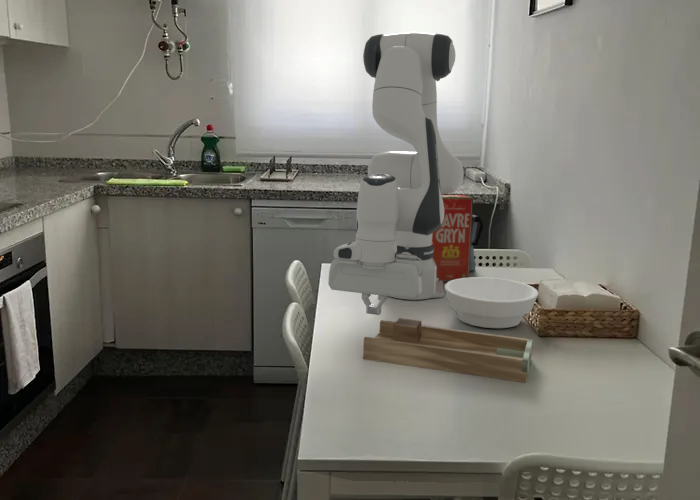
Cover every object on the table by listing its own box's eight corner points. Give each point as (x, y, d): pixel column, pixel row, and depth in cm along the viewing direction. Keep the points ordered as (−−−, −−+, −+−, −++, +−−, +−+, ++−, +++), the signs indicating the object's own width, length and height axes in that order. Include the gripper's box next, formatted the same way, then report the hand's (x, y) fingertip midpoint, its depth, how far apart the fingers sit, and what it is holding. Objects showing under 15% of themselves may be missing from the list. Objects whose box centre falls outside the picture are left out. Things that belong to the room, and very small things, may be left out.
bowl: (423, 317, 175) (425, 285, 173) (482, 302, 189) (484, 272, 188) (496, 343, 158) (498, 307, 157) (554, 324, 173) (557, 291, 171)
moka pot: (454, 263, 234) (457, 203, 229) (491, 272, 222) (495, 209, 218) (434, 266, 228) (437, 205, 223) (471, 276, 216) (475, 212, 212)
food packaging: (428, 282, 205) (431, 196, 202) (417, 276, 214) (420, 194, 211) (470, 281, 209) (474, 196, 205) (458, 275, 218) (462, 194, 214)
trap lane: (380, 339, 158) (381, 320, 157) (531, 359, 148) (532, 339, 147) (363, 358, 146) (363, 338, 145) (525, 382, 136) (527, 360, 135)
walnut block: (398, 335, 155) (399, 318, 154) (420, 338, 154) (421, 320, 153) (392, 342, 151) (393, 324, 150) (415, 345, 149) (416, 327, 148)
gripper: (427, 253, 150) (423, 315, 153) (336, 244, 156) (334, 304, 159) (420, 258, 144) (417, 323, 147) (326, 249, 150) (325, 311, 153)
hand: (373, 313), depth 153 cm, fingers closed
